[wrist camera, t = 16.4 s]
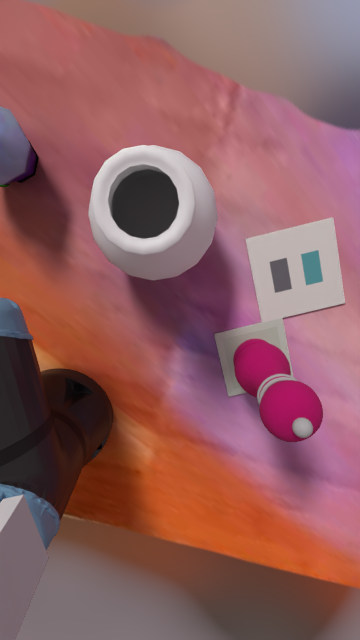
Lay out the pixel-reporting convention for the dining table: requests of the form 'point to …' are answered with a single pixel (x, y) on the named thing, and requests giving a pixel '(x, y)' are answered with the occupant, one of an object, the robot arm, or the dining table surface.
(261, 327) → the coaster
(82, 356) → the dining table surface
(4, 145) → the potion bottle
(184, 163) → the vase
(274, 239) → the tile
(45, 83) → the dining table surface
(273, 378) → the pepper mill
